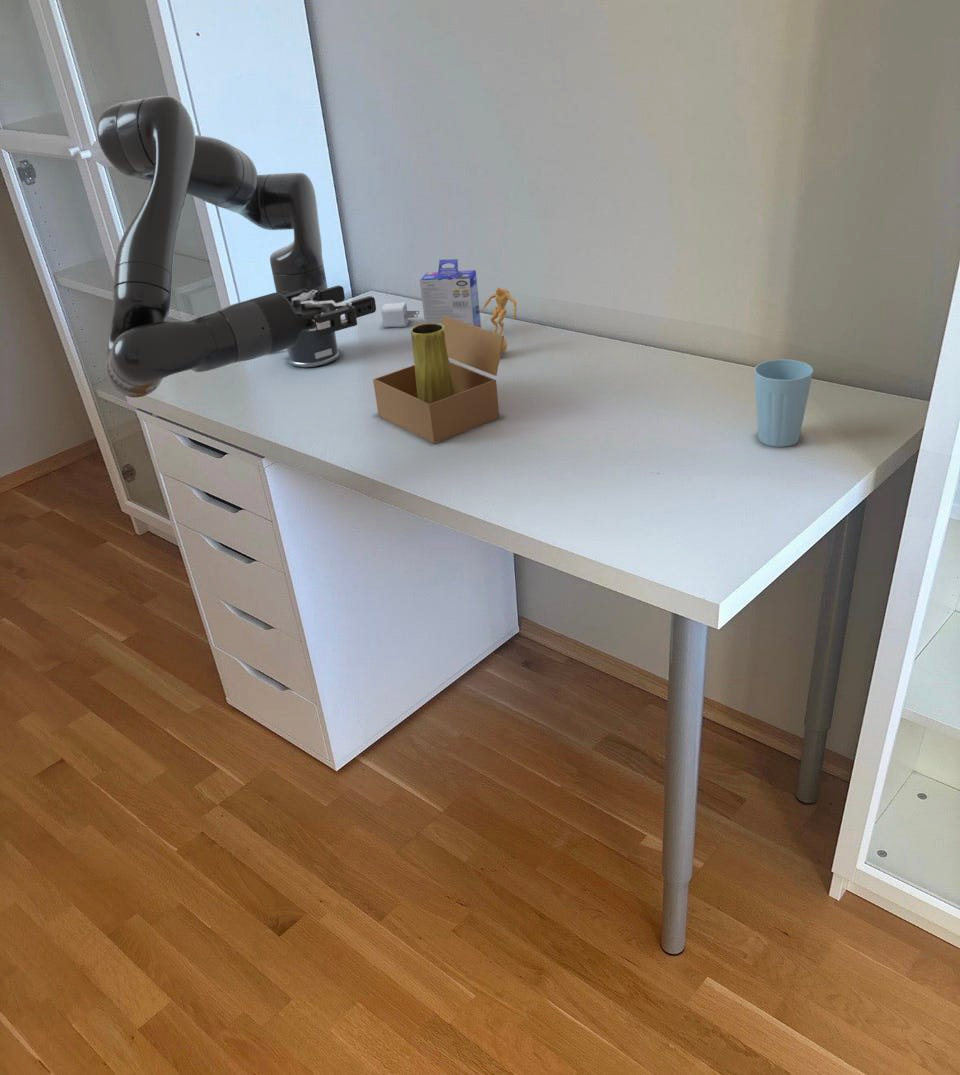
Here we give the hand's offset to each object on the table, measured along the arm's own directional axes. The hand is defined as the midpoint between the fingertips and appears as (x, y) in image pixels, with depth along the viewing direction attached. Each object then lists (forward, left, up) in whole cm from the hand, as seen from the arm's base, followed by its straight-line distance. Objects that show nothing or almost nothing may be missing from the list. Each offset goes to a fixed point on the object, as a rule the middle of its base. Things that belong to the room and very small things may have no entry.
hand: (358, 297), depth 141 cm
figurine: (-14, +35, -22) cm, 44 cm away
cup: (+44, +39, -22) cm, 63 cm away
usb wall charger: (-43, +33, -22) cm, 59 cm away
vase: (0, +11, -22) cm, 25 cm away
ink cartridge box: (-28, +35, -22) cm, 50 cm away
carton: (0, +11, -22) cm, 25 cm away
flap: (0, +18, -12) cm, 22 cm away
